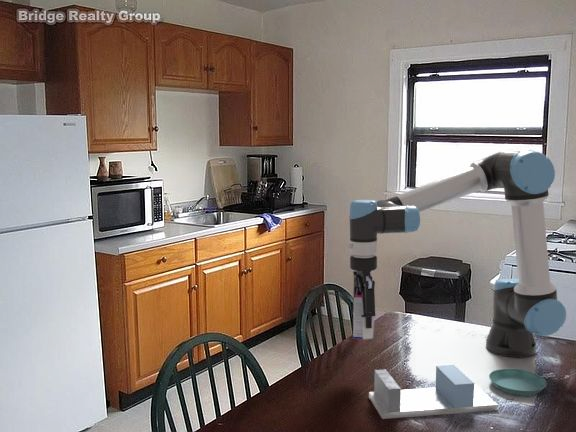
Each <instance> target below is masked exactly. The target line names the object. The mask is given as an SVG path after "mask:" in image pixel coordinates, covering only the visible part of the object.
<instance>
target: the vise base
mask: <svg viewBox="0 0 576 432" xmlns="http://www.w3.org/2000/svg"><path fill="white" fill-rule="evenodd" d="M373 386H374V389H373V390H374V391H369V392H368V399H369V400H370V401H371V403H372V405H373V406H374V408H375V409H376V411H377V413H378V414H379V416H380V418H381V419H382V420H385V419H387V420H388V419H398V418H399V419H400V418H402V419H403V418H413V417H415V418H416V417H424V416H426V417H427V416H441V415H451V414H463V413H467V414H468V413H481V412H491V411H492V412H493V411H499V410H498V409H499V407H498V406H499V404H498V403H497V402H496V401H494V400H493V398H491V397H490V396H489V395H488V393H486V392H485V391H483V389H482V388H481V387H480V386H478V385H477V384H474V405H473V406H470V407H456V408H454V407H453V406H452V404H451V403H450V402H449V401H448V400H447V399H446V398H445V397H444V396H443V395H442V394H441V393H440V391H439V390H438V389H437V388H436V386H435V387H423V388H422V387H421V388H409V389H408V388H407V389H406V388H405V389H401V388H402V387H400V386H399V384H398V383H397V382H396V380H395V379H394V378H393V377H392V375H391V374H390V373H389V372H388V370H387V369H386V368H385V369H374V385H373Z"/></svg>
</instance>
